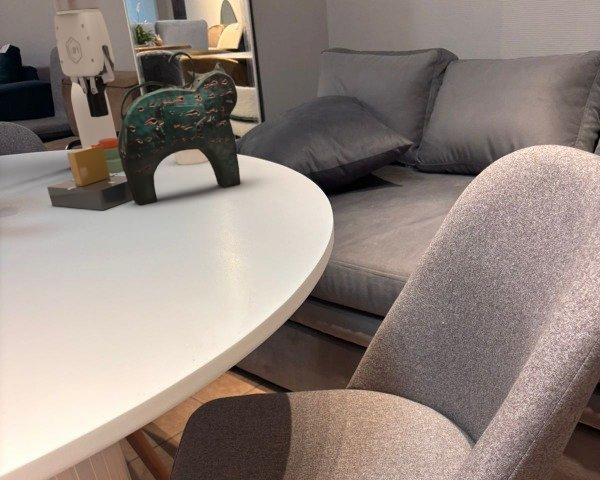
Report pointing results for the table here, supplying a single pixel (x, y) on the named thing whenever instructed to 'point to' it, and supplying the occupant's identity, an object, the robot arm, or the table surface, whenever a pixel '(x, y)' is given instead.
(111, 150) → the dispenser
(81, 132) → the milk bottle
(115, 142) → the dispenser button
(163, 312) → the table surface
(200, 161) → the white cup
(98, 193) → the base
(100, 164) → the yellow rectangular block
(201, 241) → the table surface
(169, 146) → the ceramic cat
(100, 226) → the table surface
